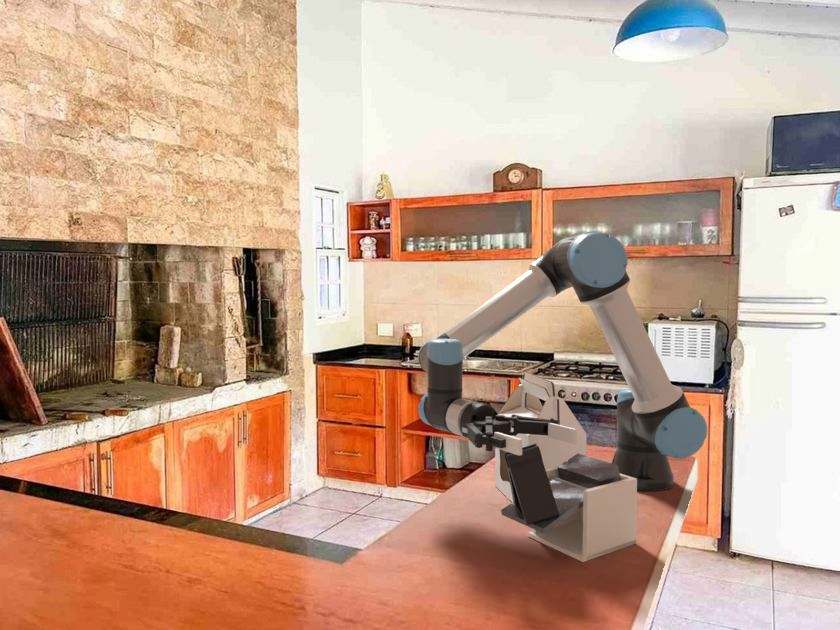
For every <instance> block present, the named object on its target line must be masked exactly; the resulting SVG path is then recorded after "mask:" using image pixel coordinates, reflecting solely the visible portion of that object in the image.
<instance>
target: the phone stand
mask: <svg viewBox="0 0 840 630" xmlns="http://www.w3.org/2000/svg"><path fill="white" fill-rule="evenodd" d="M536 445H537V444H533V445H530V446H526V447H523V448H522V455H516V454H513V453H509V452H507V453H504V456H505V460H506V464H507V468H508V474H509V480H510V486H511V492H512V498H513V502H514V504H515V506H516V507H517V509H518V511H519V512H520V514H521V516H522V517H523V519H524V521H525V522H526V524H527V525H530V524H533V523H536V522H539V521H543V520H546V519H549V518H552V517H555V516H558V515H559V511H558V508H557V505H556V502H555V499H554V496H553V492H552V489H551V486H550V483H549V480H548V476H547V473H546V470H545V467H544V464H543V460H542V455H541V452H540V449H539V447H538V446H536Z"/></svg>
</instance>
